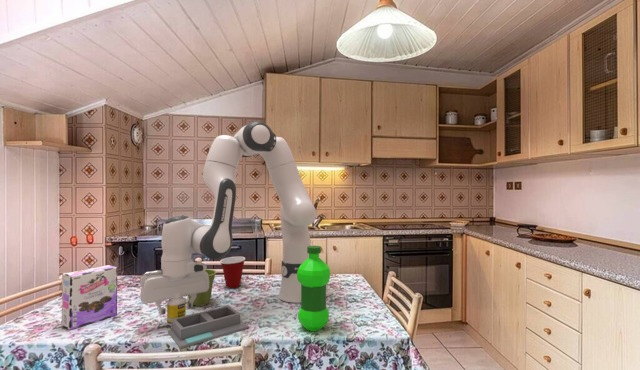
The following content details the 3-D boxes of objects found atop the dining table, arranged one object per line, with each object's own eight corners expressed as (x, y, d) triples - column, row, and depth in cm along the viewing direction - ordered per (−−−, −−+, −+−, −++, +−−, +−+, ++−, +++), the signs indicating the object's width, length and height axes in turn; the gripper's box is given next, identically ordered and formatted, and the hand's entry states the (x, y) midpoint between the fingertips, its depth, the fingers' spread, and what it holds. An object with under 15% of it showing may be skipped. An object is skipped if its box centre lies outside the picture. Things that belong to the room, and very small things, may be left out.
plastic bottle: (330, 320, 107) (330, 244, 107) (329, 335, 96) (329, 250, 96) (299, 319, 107) (300, 243, 107) (295, 334, 97) (295, 249, 97)
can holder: (231, 315, 111) (231, 304, 111) (248, 328, 101) (248, 316, 101) (167, 332, 98) (167, 320, 98) (180, 348, 88) (180, 335, 88)
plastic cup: (217, 284, 145) (218, 257, 145) (242, 281, 149) (242, 255, 149) (221, 291, 135) (221, 262, 135) (247, 288, 140) (248, 260, 140)
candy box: (69, 330, 99) (69, 276, 98) (61, 326, 102) (61, 273, 102) (117, 315, 110) (118, 266, 110) (108, 311, 113) (109, 264, 113)
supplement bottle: (178, 327, 101) (178, 295, 101) (163, 325, 103) (163, 294, 102) (189, 320, 107) (189, 290, 107) (174, 318, 108) (174, 288, 108)
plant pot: (223, 301, 124) (223, 271, 124) (195, 311, 114) (195, 279, 114) (203, 295, 131) (203, 267, 130) (175, 304, 121) (176, 273, 121)
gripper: (142, 275, 96) (142, 322, 96) (211, 264, 109) (211, 306, 109) (137, 270, 101) (137, 315, 101) (204, 261, 113) (204, 301, 113)
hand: (176, 310), depth 105 cm, fingers open, 7 cm apart
